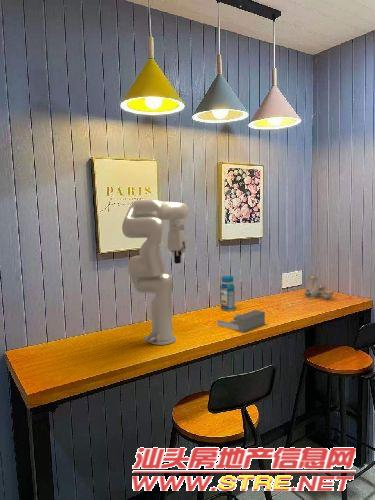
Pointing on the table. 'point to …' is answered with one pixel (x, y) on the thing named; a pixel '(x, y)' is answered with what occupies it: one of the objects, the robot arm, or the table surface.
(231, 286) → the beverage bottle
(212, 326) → the table surface
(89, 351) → the table surface
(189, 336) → the table surface
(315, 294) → the chinaware
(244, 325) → the steel lip bracket
